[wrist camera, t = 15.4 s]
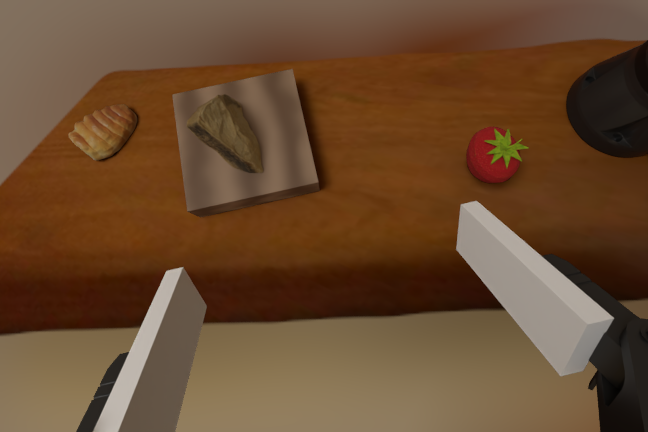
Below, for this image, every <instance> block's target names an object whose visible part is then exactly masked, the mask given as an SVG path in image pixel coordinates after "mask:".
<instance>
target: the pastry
mask: <svg viewBox="0 0 648 432" xmlns="http://www.w3.org/2000/svg"><path fill="white" fill-rule="evenodd" d="M136 123H137V116H136V114H135V113H134V112H133V111H132V110H131V109H129V108H128V107H127V106H126V105H123V104H122V105H119V104H118V105H114V106H106V107H105V108H104V109H102V110H96V111H95V112H94V113H93V114H89V115H86V116H84V121H79V122H77V123H75V130H74V131H73V132H71V133H69V137H70V139H71V140H72V141H73V143H74V144H75V145H77V146H78V147H80V149H81V150H83V151H84V152H85V153H86V154H88V155H89V156H90V157H92V158H93V159H94V160H101V159H104V158H108V157H111V156H113V154H114V153H115V152H117V151H119V150H120V149H121V147H122V146H123V145H124V143H125V142H126V141H127V140H128V138H129V137H130V135H131V134H132V133H133V131H134V129H135V127H136Z"/></svg>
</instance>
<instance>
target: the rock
mask: <svg viewBox="0 0 648 432" xmlns="http://www.w3.org/2000/svg"><path fill="white" fill-rule="evenodd" d="M187 128H188V129H189V130H190V131H191V132H192V133H193V134H194V135H195V136H196V137H197V138H198V139H199V140H200V141H202V142H203V143H204V144H206V145H207V146H209V147H211V148H212V149H214V150H215V151H217V153H218V154H219V155H220V156H221V157H222V158H223V159H224V160H225V161H226V162H227V163H228V164H229V165H231V166H232V167H233V168H236V169H238V170H241V171H245V172H248V173H262V172H263V168H262V165H261V157H260V156H261V152H260V145H259V143H258V141H257V138H256V136H255V135H254V133H253V131H252V130H251V129H250V127H249V124H248V122H247V121H246V119H245V118H244V117H243V112H242V107H241V105H240V103H239V102H237V101H236V100H235V99H233V98H230V96H228V95H226V94H223V95H219V94H218V95H217V96H216V97H214V98H213V99H211V100H209V101H208V102H206V103H205V104H203V105H201V106H199V107H198V108H197V111H196V112H194V113H193V114H192V116H191V117H190V118H189V119H188V120H187Z"/></svg>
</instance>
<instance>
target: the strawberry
mask: <svg viewBox="0 0 648 432" xmlns="http://www.w3.org/2000/svg"><path fill="white" fill-rule="evenodd" d="M521 140H522V139H521ZM521 140H519V141H518V142H520V141H521ZM518 142H517V143H516V141H515V140H514V138H513V137H512V136H511V135H510V132H509V129H508V130H507V132H506V131H504V130H503V129H501V128H498V127H487V128H484V129H482V130H480V131H479V132H477V133H476V134H475V135H474V136H473V137H472V139H471V141H470V144H469V146H468V149H467V155H466V156H467V164H468V168H469V170H470V172H471V173H472V175H473V176H475V177H476V178H478V179H480V180H481V181H483V182H486V183H498V182H504V181H506V180H508V179H510V178H511V176H512V175H513V174H514V173H515V172H516V171H517V169H518V167H519V164H520V161H522V160H521V158H520V152H519V149H526V148H528V147H526V146H523V145H521V144H518Z"/></svg>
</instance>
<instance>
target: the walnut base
mask: <svg viewBox="0 0 648 432" xmlns="http://www.w3.org/2000/svg"><path fill="white" fill-rule="evenodd" d="M218 94H219V95H223V94H226V95H228V96H230V98H233V99H235V100H236V101H237V102H239V103H240V105H241V107H242V112H243V117H244V118H245V119H246V121H247V122H248V124H249V127H250V129H251V130H252V131H253V133H254V135H255V136H256V138H257V141H258V143H259V145H260V152H261V156H260V157H261V165H262V168H263V172H262V173H248V172H245V171H241V170H238V169H236V168H233V167H232V166H231V165H229V164H228V163H227V162H226V161H225V160H224V159H223V158H222V157H221V156H220V155H219V154H218V153H217V151H215V150H214V149H212V148H211V147H209V146H207V145H206V144H204V143H203V142H202V141H200V140H199V139H198V138H197V137H196V136H195V135H194V134H193V133H192V132H191V131H190V130H189V129H188V128H187V120H188V119H189V118H190V117H191V116H192V114H193V113H194V112H196V111H197V108H198V107H199V106H201V105H203V104H205V103H206V102H208V101H209V100H211V99H213V98H214V97H216V96H217V95H218ZM172 96H173V104H174V111H175V119H176V127H177V134H178V142H179V150H180V158H181V165H182V173H183V181H184V188H185V196H186V204H187V211H188V212H190V213H192V214H194V215H196V216H199V217H205V216H209V215H214V214H218V213H222V212H227V211H231V210H236V209H240V208H245V207H249V206H254V205H258V204H263V203H267V202H272V201H276V200H281V199H285V198H290V197H294V196H299V195H303V194H308V193H312V192H317V191H320V189H319V182H318V178H317V174H316V169H315V165H314V161H313V156H312V152H311V148H310V143H309V139H308V135H307V130H306V126H305V122H304V117H303V113H302V109H301V104H300V100H299V96H298V91H297V87H296V83H295V78H294V74H293V70H292V69H290V70H285V71H280V72H276V73H271V74H266V75H262V76H257V77H252V78H248V79H243V80H238V81H234V82H229V83H225V84H220V85H215V86H211V87H206V88H201V89H197V90H192V91H187V92H183V93H178V94H173V95H172Z"/></svg>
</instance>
